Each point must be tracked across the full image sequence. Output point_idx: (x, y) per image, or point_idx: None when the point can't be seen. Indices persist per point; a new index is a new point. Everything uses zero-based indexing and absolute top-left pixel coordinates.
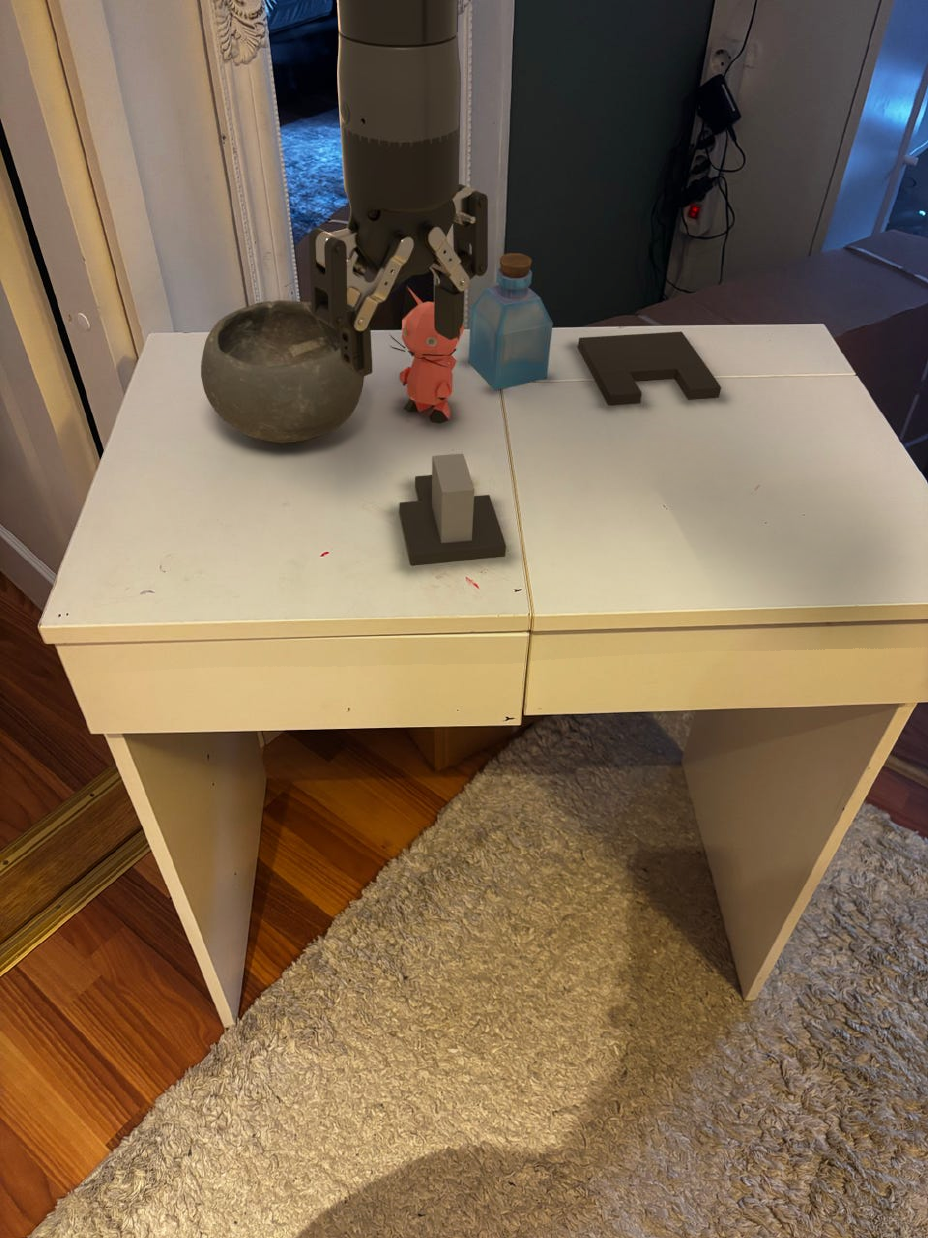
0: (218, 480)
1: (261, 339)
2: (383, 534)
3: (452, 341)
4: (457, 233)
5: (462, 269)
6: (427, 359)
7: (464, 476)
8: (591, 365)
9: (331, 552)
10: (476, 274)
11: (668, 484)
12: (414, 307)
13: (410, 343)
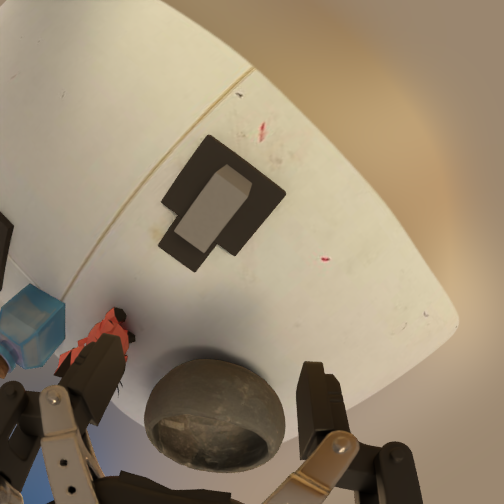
0: None
1: (200, 445)
2: (269, 241)
3: (77, 352)
4: (22, 468)
5: (44, 420)
6: None
7: (205, 198)
8: (2, 266)
9: (319, 256)
10: (24, 391)
11: (42, 116)
12: None
13: None
